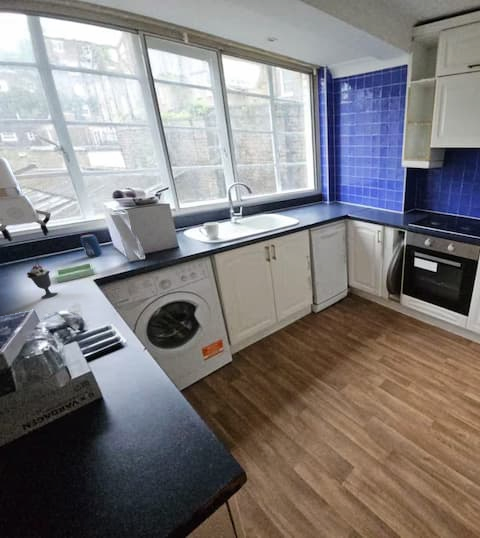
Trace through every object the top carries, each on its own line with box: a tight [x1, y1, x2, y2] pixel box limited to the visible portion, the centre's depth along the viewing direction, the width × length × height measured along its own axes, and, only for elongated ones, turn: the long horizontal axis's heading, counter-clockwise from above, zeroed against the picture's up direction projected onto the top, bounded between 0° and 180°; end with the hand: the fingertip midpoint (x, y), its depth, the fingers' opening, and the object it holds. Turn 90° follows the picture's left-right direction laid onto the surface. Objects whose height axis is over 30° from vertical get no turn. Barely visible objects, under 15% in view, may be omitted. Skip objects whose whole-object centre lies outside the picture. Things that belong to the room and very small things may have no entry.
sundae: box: [26, 260, 58, 299], centre depth 120 cm, size 7×7×15 cm
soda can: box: [80, 233, 103, 258], centre depth 167 cm, size 7×7×12 cm
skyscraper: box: [109, 208, 146, 263], centre depth 156 cm, size 8×8×28 cm
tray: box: [55, 262, 95, 283], centre depth 143 cm, size 13×12×3 cm
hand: (28, 237), depth 114 cm, fingers open, 9 cm apart
